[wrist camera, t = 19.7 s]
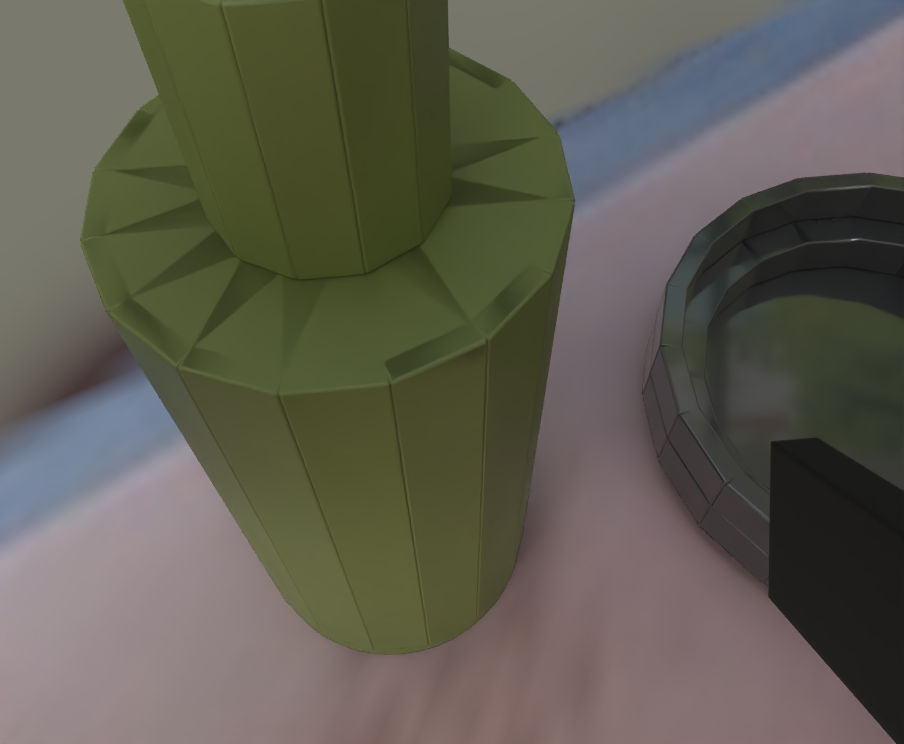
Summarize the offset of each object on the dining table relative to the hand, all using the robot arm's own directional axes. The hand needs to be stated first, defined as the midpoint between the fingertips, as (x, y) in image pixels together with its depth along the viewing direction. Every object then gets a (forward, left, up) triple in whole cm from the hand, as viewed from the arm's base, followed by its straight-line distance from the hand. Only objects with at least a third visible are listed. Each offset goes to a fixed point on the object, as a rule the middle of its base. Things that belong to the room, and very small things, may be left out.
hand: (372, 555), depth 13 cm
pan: (-14, -6, -9) cm, 18 cm away
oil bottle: (0, -4, -9) cm, 10 cm away
